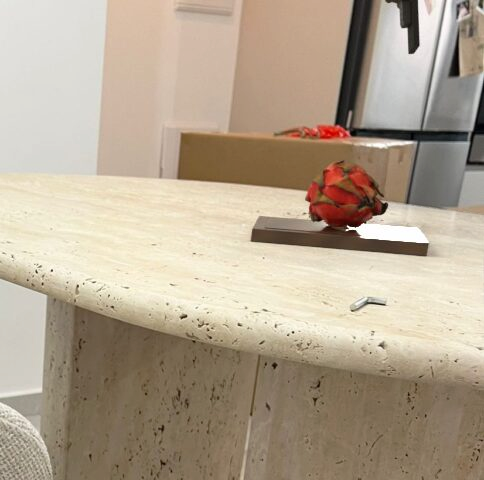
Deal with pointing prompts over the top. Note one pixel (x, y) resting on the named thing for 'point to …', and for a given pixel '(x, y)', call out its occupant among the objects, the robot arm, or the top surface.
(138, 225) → the top surface
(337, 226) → the dragon fruit
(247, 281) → the top surface
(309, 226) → the cutting board
